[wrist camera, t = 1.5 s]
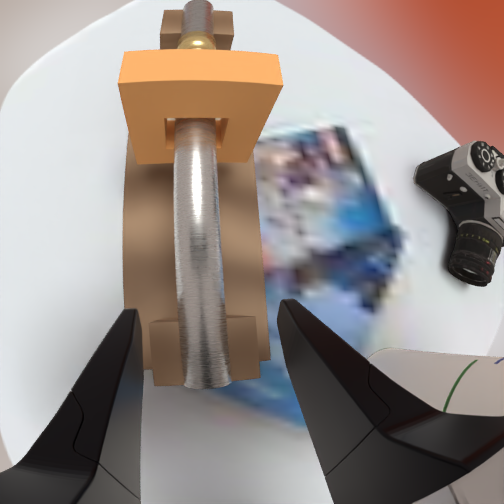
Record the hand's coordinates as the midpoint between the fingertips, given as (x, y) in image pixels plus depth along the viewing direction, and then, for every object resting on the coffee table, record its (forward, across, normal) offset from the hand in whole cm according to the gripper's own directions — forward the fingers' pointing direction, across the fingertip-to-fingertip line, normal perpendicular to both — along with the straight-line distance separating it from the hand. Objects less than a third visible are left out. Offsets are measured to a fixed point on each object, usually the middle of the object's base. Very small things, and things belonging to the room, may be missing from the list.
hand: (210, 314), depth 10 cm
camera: (+14, -27, +6) cm, 31 cm away
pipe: (+11, 0, -2) cm, 11 cm away
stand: (+16, 0, +4) cm, 16 cm away
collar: (+13, 0, -1) cm, 13 cm away
